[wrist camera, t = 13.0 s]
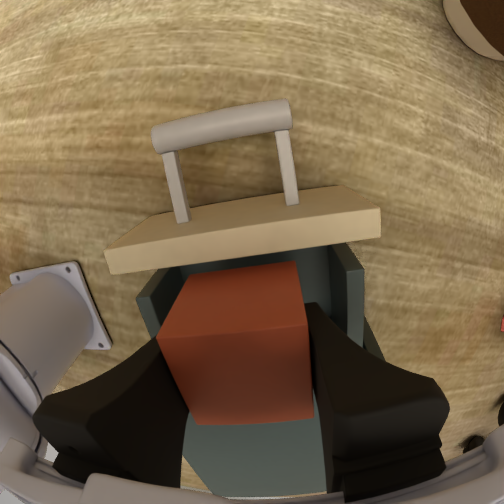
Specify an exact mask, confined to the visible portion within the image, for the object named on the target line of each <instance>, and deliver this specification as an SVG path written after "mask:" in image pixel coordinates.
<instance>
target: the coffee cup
mask: <svg viewBox="0 0 504 504" xmlns="http://www.w3.org/2000/svg"><path fill="white" fill-rule="evenodd" d="M443 8H444V11H445V14H446V17H447V20H448V21H449V23H450V24H451V26H452V28H453V29H454V31H455V33H456V34H457V35H458V36H459V37H460V38H461V39H462V41H463V42H464V43H465V44H466V45H467V46H468V47H470V48H471V49H473V50H474V51H475V52H477V53H478V54H480V55H483V56H485V57H488V58H491V59H494V60H504V0H443Z"/></svg>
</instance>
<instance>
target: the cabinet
mask: <svg viewBox="0 0 504 504" xmlns="http://www.w3.org/2000/svg"><path fill="white" fill-rule="evenodd" d="M363 348H364V349H365V350H366V351H368V352H370V353H371V354H373V355H375V356H376V357H378V358H380V359H382V360H384V361H385V358H384V356H383V354H382V352H381V350H380V347H379V345H378V343H377V341H376V339H375V337H374V334H373V332H372V330H371V328H370V326H369V324H368V322H367V320H366V318H365V315H364V329H363ZM313 401H314V418H310V419H303V420H294V421H284V422H273V423H260V424H239V425H197V424H196V422H195V420H194V418H193V416H192V414H191V412H190V411H189V414H188V418H187V423H186V429H185V436H184V443H183V452H182V455H183V456H184V458H185V459H186V460H187V462H188V463H189V464H190V466H191V467H192V468H193V470H194V471H195V472H196V474H197V475H198V476H199V477H200V479H201V480H202V481H203V482H204V484H205V485H206V486H207V487H208V489H209V490H210V491H211V492H212V493H213V494H214V495H217V496H225V497H269V496H286V495H298V494H308V493H316V492H324V491H327V490H326V476H325V465H324V454H323V445H322V435H321V427H320V418H319V412H318V407H317V403H316V399H315V395H314V391H313Z"/></svg>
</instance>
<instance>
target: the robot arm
mask: <svg viewBox="0 0 504 504" xmlns="http://www.w3.org/2000/svg"><path fill="white" fill-rule="evenodd" d="M68 267H69V268H70V270H71V271H70V270H69V268H68ZM10 280H11V283H12V286H11V287H10V288H8V289H7V290H6V291H4V292H3V293H2V294H0V494H1V492H2V491H3V490H5V489H6V490H8V491H9V492H10V493H12V494H13V495H14V496H15V497H17V498H18V499H19V500H20V501H22V502H23V503H25V504H504V424H503V425H501V426H499V427H498V428H496V429H495V430H493V431H492V432H491V433H490V434H489V435H488V436H487V437H486V439H485V441H484V442H483V445H481V446H479V447H477V448H475V449H473V450H471V451H469V452H466V453H464V454H462V455H460V456H457V457H455V458H453V459H450V460H448V461H446V462H445V461H444V459H443V456H442V453H441V451H440V448H441V446H442V442H441V439H440V437H439V433H440V431H441V429H442V427H443V425H444V423H445V421H446V419H447V417H448V414H449V411H450V407H449V403H448V401H447V399H446V397H445V395H444V393H443V392H442V390H441V388H440V387H439V386H438V385H437V383H436V382H435V380H434V379H433V378H429V377H426V376H422V375H419V374H416V373H412V372H409V371H406V370H404V369H401V368H399V367H397V366H394V365H392V364H390V363H388V362H386V361H384V360H382V359H380V358H378V357H376V356H375V355H373V354H371V353H370V352H368V351H366V350H365V349H364V348H362V347H361V346H359V345H358V344H357V343H356V342H354V341H353V340H352V339H351V338H349V337H348V336H347V335H346V334H345V333H344V332H343V331H342V330H341V329H340V328H339V327H338V326H337V325H336V324H335V323H334V322H333V321H332V320H331V319H330V318H329V317H328V316H327V315H326V313H325V312H324V311H323V310H322V308H321V307H320V306H319V304H318V303H317V302H310V303H304V306H305V311H306V317H307V322H308V331H309V343H310V356H311V369H312V384H313V391H314V395H315V399H316V403H317V407H318V412H319V418H320V427H321V435H322V445H323V454H324V465H325V476H326V490H327V494H322V495H314V496H306V497H296V498H284V499H259V500H236V499H234V500H233V499H228V498H224V497H221V496H217V495H214V494H211V493H206V492H200V491H193V490H188V489H180V478H181V463H182V452H183V443H184V436H185V429H186V423H187V418H188V414H189V409H188V407H187V405H186V403H185V401H184V399H183V397H182V395H181V392H180V390H179V388H178V386H177V384H176V382H175V380H174V378H173V376H172V373H171V371H170V369H169V367H168V365H167V362H166V360H165V358H164V355H163V353H162V351H161V349H160V346H159V344H158V341H157V339H156V336H157V335H156V336H154V337H153V338H152V339H151V340H150V341H149V342H148V343H146V344H145V345H144V346H143V347H141V348H140V349H139V350H138V351H136V352H135V353H134V354H133V355H131V356H130V357H129V358H127V359H126V360H125V361H123V362H122V363H120V364H119V365H117V366H116V367H114V368H112V369H111V370H109V371H107V372H105V373H103V374H102V375H100V376H98V377H96V378H94V379H92V380H90V381H88V382H86V383H83V384H81V385H78V386H76V387H73V388H71V389H68V390H64V391H61V392H58V393H54V394H51V393H52V392H53V390H54V389H55V387H56V386H57V385H58V383H59V382H60V380H61V379H62V378H63V376H64V375H65V373H66V372H67V371H68V369H69V368H70V366H71V365H72V364H73V362H74V361H75V360H76V358H77V357H78V356H79V354H80V353H81V352H82V350H83V349H95V350H109V349H110V348H111V347H112V343H111V341H110V339H109V336H108V334H107V332H106V330H105V328H104V326H103V323H102V321H101V319H100V317H99V314H98V312H97V310H96V307H95V305H94V303H93V300H92V298H91V295H90V293H89V290H88V288H87V285H86V283H85V280H84V277H83V275H82V272H81V269H80V266H79V265H78V263H77V262H75V261H71V262H66V263H60V264H55V265H50V266H44V267H39V268H34V269H29V270H24V271H19V272H14V273H12V274H10ZM102 344H103V345H102ZM48 442H49V443H50V444H51V445H52V446H53V447H54V448H55V450H57V452H59V453H58V456H57V457H56V459H55V461H54V463H53V462H50V461H48V460H46V459H44V458H45V455H46V451H47V445H48Z"/></svg>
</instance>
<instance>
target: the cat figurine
mask: <svg viewBox="0 0 504 504" xmlns="http://www.w3.org/2000/svg"><path fill="white" fill-rule="evenodd" d="M501 331H502V332H504V316H503V319H502V326H501Z"/></svg>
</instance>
